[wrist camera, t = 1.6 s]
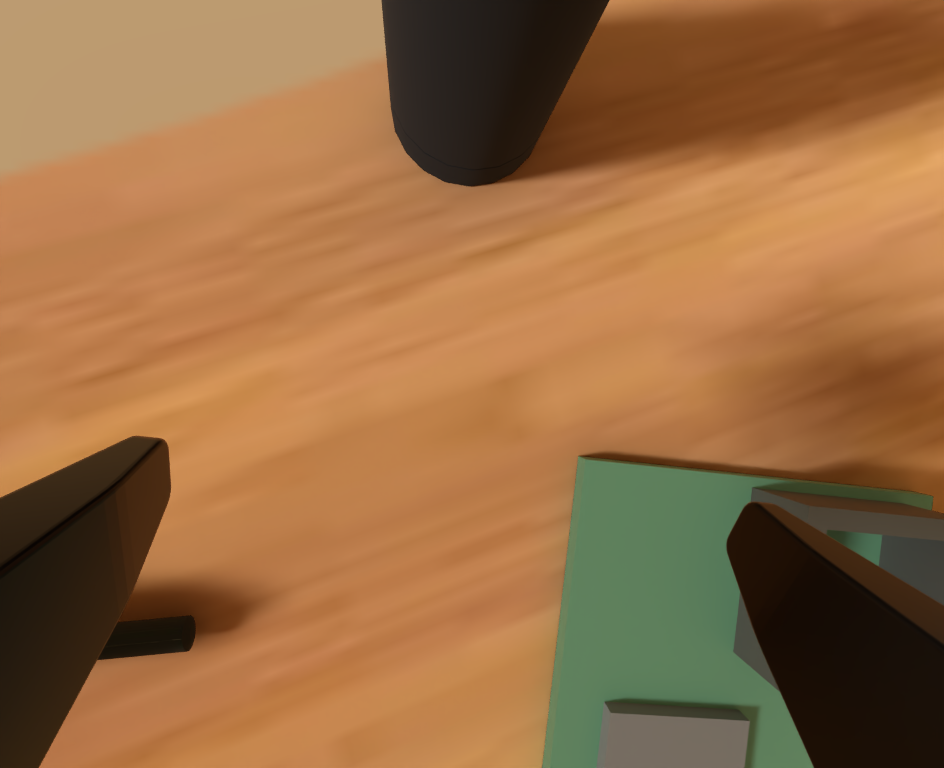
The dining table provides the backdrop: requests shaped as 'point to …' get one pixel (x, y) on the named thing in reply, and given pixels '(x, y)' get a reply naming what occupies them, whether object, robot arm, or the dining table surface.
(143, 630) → the handheld radio
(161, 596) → the dining table surface
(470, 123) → the wine bottle
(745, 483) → the board
